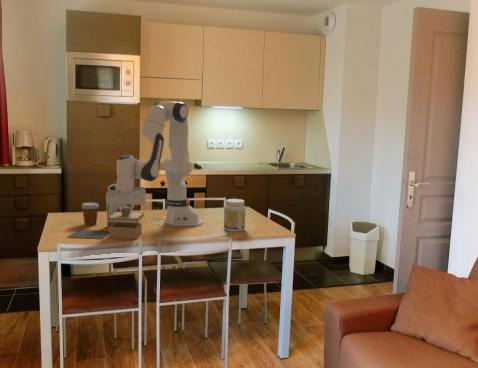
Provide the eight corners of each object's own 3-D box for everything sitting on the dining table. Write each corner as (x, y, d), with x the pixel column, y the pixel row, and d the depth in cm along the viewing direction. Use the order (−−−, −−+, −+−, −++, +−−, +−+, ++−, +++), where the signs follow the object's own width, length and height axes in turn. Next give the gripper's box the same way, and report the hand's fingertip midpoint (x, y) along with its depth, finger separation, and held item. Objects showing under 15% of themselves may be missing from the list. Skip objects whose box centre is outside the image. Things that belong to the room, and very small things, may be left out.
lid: (143, 216, 262) (143, 205, 261) (137, 222, 249) (137, 211, 248) (115, 215, 263) (115, 204, 262) (107, 221, 250) (107, 210, 249)
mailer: (141, 233, 263) (141, 222, 262) (135, 239, 251) (135, 228, 250) (115, 232, 263) (115, 221, 262) (108, 238, 251) (108, 226, 250)
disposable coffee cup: (102, 224, 279) (102, 204, 277) (87, 227, 272) (87, 206, 270) (93, 221, 285) (93, 201, 284) (78, 224, 278) (78, 203, 277)
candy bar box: (125, 224, 281) (125, 196, 278) (128, 226, 277) (128, 198, 274) (106, 226, 276) (106, 197, 273) (108, 228, 271) (108, 199, 269)
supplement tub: (237, 226, 287) (238, 197, 284) (249, 230, 277) (250, 201, 274) (219, 228, 280) (220, 199, 278) (230, 233, 270) (231, 203, 268)
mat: (111, 231, 265) (111, 230, 265) (101, 239, 250) (101, 238, 249) (78, 229, 266) (78, 229, 266) (67, 237, 250) (67, 236, 250)
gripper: (146, 186, 256) (147, 211, 258) (108, 185, 257) (109, 210, 259) (144, 188, 250) (144, 214, 252) (104, 187, 250) (105, 213, 253)
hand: (126, 212), depth 255 cm, fingers closed on lid, 3 cm apart
